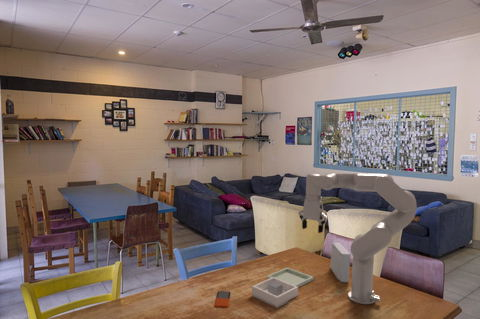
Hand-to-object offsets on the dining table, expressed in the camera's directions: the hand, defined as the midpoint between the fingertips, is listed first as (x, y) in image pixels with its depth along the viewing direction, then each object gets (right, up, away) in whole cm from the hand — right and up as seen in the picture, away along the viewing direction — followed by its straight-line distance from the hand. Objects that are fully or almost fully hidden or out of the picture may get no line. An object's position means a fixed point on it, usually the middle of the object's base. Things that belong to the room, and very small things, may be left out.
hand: (312, 230), depth 171 cm
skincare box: (+20, -30, +18) cm, 40 cm away
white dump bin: (-20, -31, -9) cm, 38 cm away
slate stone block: (-20, -30, -9) cm, 37 cm away
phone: (-46, -31, -13) cm, 57 cm away
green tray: (-10, -30, +9) cm, 33 cm away
